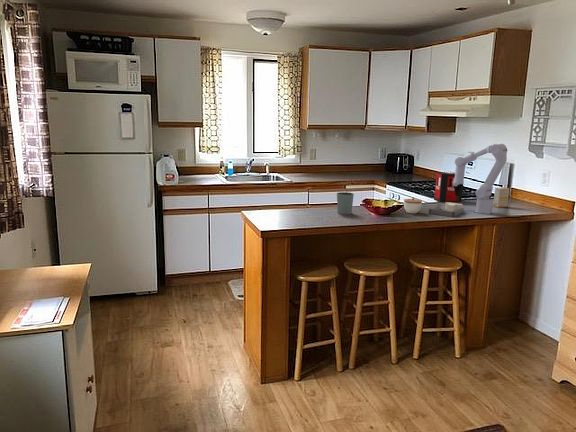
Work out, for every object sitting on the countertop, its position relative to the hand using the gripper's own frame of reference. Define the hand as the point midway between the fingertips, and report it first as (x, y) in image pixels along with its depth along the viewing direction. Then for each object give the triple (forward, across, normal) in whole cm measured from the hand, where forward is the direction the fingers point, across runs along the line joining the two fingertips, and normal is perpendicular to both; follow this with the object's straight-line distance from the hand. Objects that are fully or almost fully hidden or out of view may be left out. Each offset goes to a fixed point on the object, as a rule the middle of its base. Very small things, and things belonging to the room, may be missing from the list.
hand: (457, 195), depth 316 cm
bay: (+8, +22, 0) cm, 23 cm away
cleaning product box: (+8, -24, -13) cm, 29 cm away
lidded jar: (+8, +36, -17) cm, 41 cm away
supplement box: (+8, -27, +22) cm, 36 cm away
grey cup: (+8, +67, -48) cm, 83 cm away
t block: (+8, +10, 0) cm, 13 cm away
